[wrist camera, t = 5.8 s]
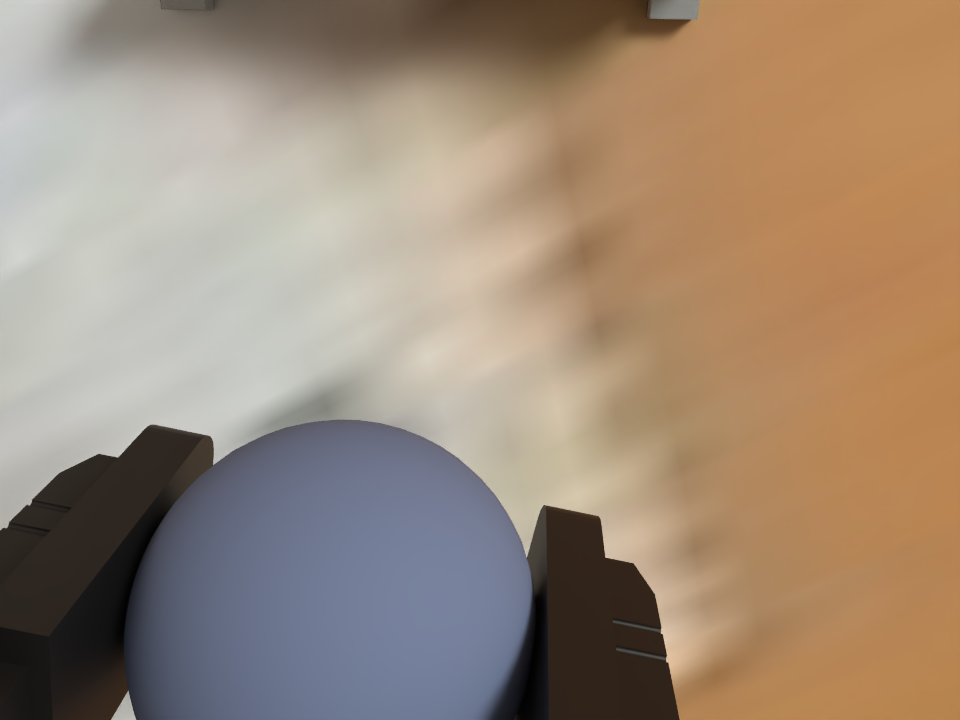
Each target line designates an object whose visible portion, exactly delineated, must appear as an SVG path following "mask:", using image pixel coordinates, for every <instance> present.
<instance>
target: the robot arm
mask: <svg viewBox="0 0 960 720" xmlns="http://www.w3.org/2000/svg"><path fill="white" fill-rule="evenodd" d="M213 455H214V447H213V441H212V438H211V437H210V436H207V435H202V434H197V433H192V432H187V431H182V430H177V429H173V428H168V427H163V426H158V425H150V426H148V427H147V428H146V429H144V430H143V432H142V433H141V434H140V435H139V436H138V437H137V438H136V439H135V440H134V441H133V442H132V443H131V444H130V446H129V447H128V448H127V449H126V450H125V451H124V452H123V453H122V454H121V455H120V456H119V457H118V458H116V457H112V456H107V455H102V454H98V455H96V456H94V457H91V458H89V459H87V460H85V461H83V462H81V463H79V464H77V465H75V466H73V467H71V468H69V469H67V470H65V471H63V472H61V473H59V474H58V475H57V476H56V477H55V478H54V479H53V480H52V481H51V482H50V483H49V484H48V485H47V486H46V487H45V488H44V489H43V490H42V491H41V492H40V493H39V494H38V495H37V496H35V497H34V498H33V499H32V503H31V505H30V506H29V505H26V506H25V507H24V508H23V509H22V510H21V511H20V512H19V513H18V514H17V515H16V516H15V517H14V518H13V519H12V520H11V521H10V522H9V526H8V528H7V529H6V528H3V529H2V530H1V531H0V720H111V719H112V717H113V715H114V713H115V712H116V710H117V708H118V707H119V705H120V703H121V702H122V700H123V698H124V697H125V695H126V693H127V692H128V685H127V680H126V673H125V661H124V631H125V621H126V614H127V608H128V602H129V596H130V593H131V589H132V586H133V582H134V579H135V575H136V573H137V570H138V567H139V565H140V562H141V559H142V557H143V554H144V552H145V550H146V548H147V546H148V544H149V542H150V540H151V538H152V536H153V535H154V533H155V531H156V530H157V528H158V526H159V525H160V523H161V521H162V520H163V518H164V517H165V516H166V514H167V513H168V511H169V510H170V509H171V507H172V506H173V505H174V503H175V502H176V501H177V500H178V499H179V497H180V496H181V495H182V494H183V493H184V492H185V491H186V489H187V488H188V487H189V486H190V485H191V484H192V483H193V482H195V481H196V480H197V479H198V478H199V477H200V476H201V475H202V474H203V473H204V472H205V471H207V470H208V469H209V468H211V467H212V466H213ZM527 561H528V564H529V568H530V571H531V574H532V578H533V585H534V593H535V602H536V612H537V619H536V632H535V642H534V649H533V656H532V662H531V669H530V674H529V678H528V682H527V687H526V691H525V695H524V698H523V700H522V703H521V705H520V708H519V710H518V713H517V715H516V717H515V719H514V720H679V715H678V710H677V705H676V700H675V695H674V690H673V684H672V679H671V674H670V669H669V664H668V663H667V662H666V657H667V654H666V649H665V644H664V638H663V634H661V623H660V618H659V613H658V608H657V603H656V598H655V594H654V593H653V591H652V590H651V588H650V587H649V585H648V584H647V582H646V581H645V580H644V578H643V577H642V575H641V574H640V572H639V571H638V569H637V568H636V566H635V565H634V564H633V563H629V562H624V561H619V560H614V559H609V558H605V551H604V543H603V535H602V526H601V520H600V518H599V516H595V515H590V514H585V513H580V512H575V511H570V510H565V509H560V508H556V507H551V506H546V505H544V506H543V507H542V509H541V511H540V514H539V517H538V520H537V524H536V527H535V531H534V534H533V538H532V542H531V545H530V549H529V552H528V556H527Z"/></svg>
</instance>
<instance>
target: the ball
mask: <svg viewBox="0 0 960 720" xmlns="http://www.w3.org/2000/svg"><path fill="white" fill-rule="evenodd" d="M536 619H537V612H536V602H535V593H534V585H533V578H532V574H531V571H530V568H529V564H528V561H527V558H526V554H525V551H524V548H523V544H522V542H521V539H520V537H519V535H518V533H517V531H516V529H515V527H514V525H513V523H512V521H511V519H510V517H509V516H508V514H507V512H506V511H505V509H504V508H503V506H502V505H501V503H500V502H499V500H498V499H497V497H496V496H495V494H494V493H493V492H492V491H491V490H490V489H489V487H488V486H487V485H486V484H485V483H484V482H483V481H482V479H481V478H480V477H479V476H477V475H476V474H475V473H474V472H473V471H472V470H471V469H470V468H469V467H467V466H466V465H465V464H464V463H463V462H462V461H461V460H460V459H458V458H457V457H455V456H454V455H453V454H451V453H450V452H448V451H447V450H445V449H444V448H442V447H441V446H439V445H437V444H435V443H433V442H431V441H429V440H427V439H426V438H424V437H421V436H419V435H416V434H414V433H411V432H409V431H406V430H403V429H400V428H396V427H393V426H389V425H385V424H381V423H374V422H367V421H360V420H330V421H318V422H311V423H305V424H301V425H296V426H291V427H287V428H284V429H281V430H278V431H275V432H272V433H269V434H267V435H264V436H262V437H260V438H258V439H256V440H253V441H251V442H249V443H248V444H246V445H244V446H242V447H240V448H238V449H236V450H234V451H232V452H231V453H230V454H228V455H227V456H225V457H224V458H223V459H221V460H220V461H219V462H217V463H216V464H214V465H213V466H212V467H211V468H209V469H208V470H207V471H205V472H204V473H203V474H202V475H201V476H200V477H199V478H198V479H197V480H196V481H195V482H193V483H192V484H191V485H190V486H189V487H188V488H187V489H186V491H185V492H184V493H183V494H182V495H181V496H180V497H179V499H178V500H177V501H176V502H175V503H174V505H173V506H172V507H171V509H170V510H169V511H168V513H167V514H166V516H165V517H164V518H163V520H162V521H161V523H160V525H159V526H158V528H157V530H156V531H155V533H154V535H153V536H152V538H151V540H150V542H149V544H148V546H147V548H146V550H145V552H144V554H143V557H142V559H141V562H140V565H139V567H138V570H137V573H136V575H135V579H134V582H133V586H132V589H131V593H130V596H129V602H128V608H127V614H126V621H125V631H124V661H125V673H126V680H127V685H128V690H129V694H130V699H131V703H132V707H133V711H134V714H135V717H136V719H137V720H514V719H515V717H516V715H517V713H518V710H519V708H520V705H521V703H522V700H523V698H524V695H525V691H526V687H527V682H528V678H529V674H530V669H531V662H532V656H533V649H534V642H535V632H536Z"/></svg>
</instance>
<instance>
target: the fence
mask: <svg viewBox="0 0 960 720" xmlns="http://www.w3.org/2000/svg"><path fill="white" fill-rule="evenodd" d="M699 1H700V0H649V1H648V11H647V18H649V19H694V20H697V18H698V9H699ZM160 3H161V9H182V10H214V3H213V0H160Z"/></svg>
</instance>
